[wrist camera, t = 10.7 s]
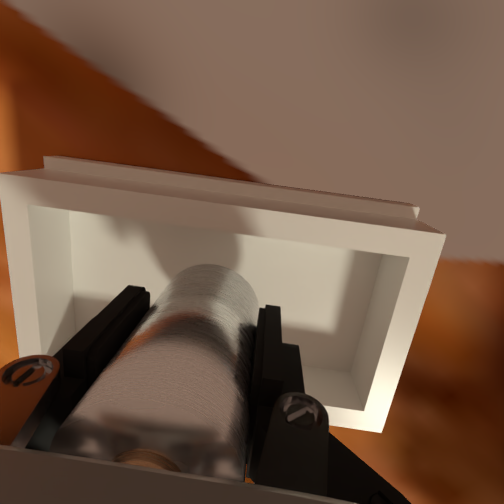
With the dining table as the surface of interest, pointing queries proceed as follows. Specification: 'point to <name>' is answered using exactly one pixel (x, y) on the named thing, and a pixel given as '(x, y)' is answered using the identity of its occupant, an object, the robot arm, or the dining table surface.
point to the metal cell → (176, 383)
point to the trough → (226, 264)
